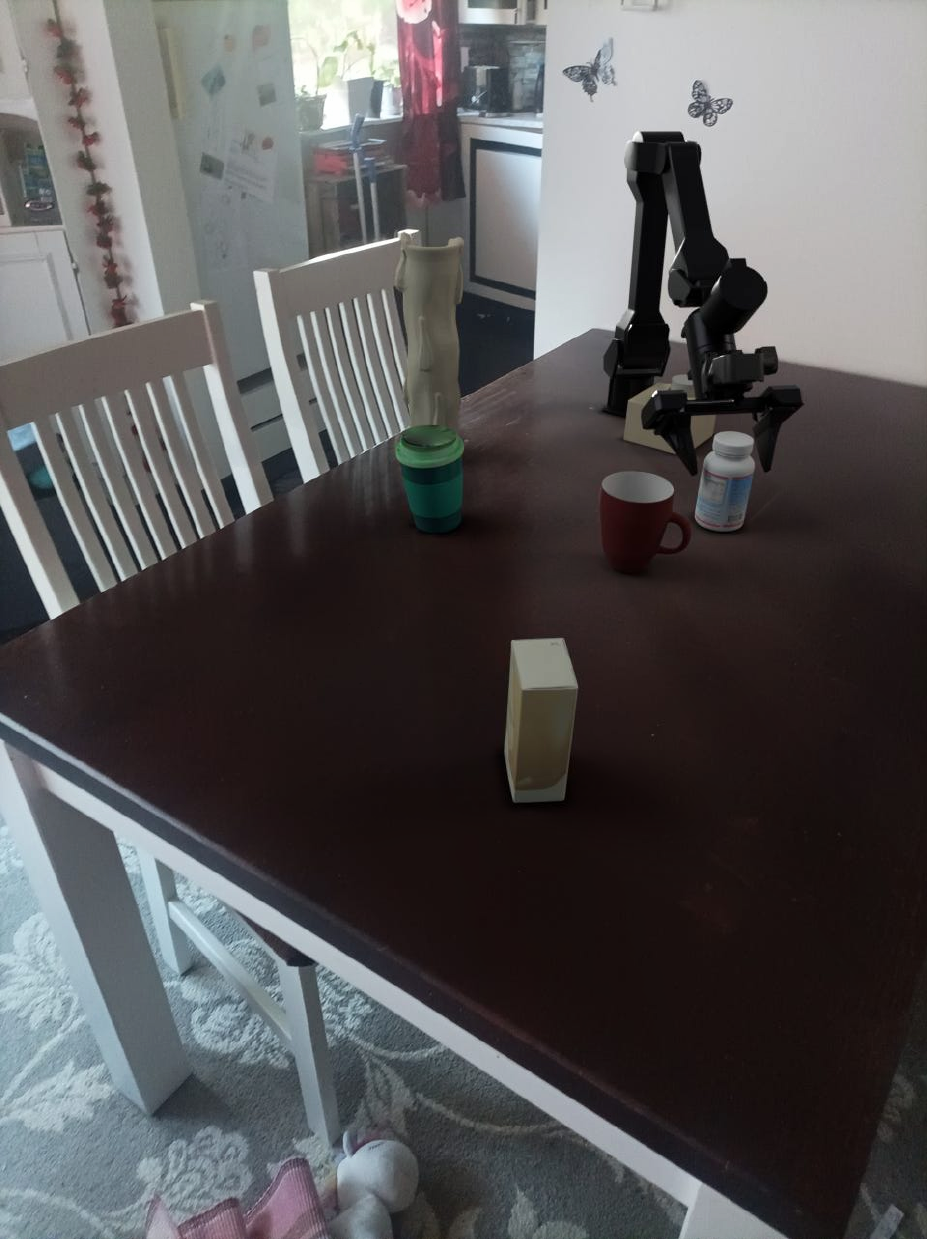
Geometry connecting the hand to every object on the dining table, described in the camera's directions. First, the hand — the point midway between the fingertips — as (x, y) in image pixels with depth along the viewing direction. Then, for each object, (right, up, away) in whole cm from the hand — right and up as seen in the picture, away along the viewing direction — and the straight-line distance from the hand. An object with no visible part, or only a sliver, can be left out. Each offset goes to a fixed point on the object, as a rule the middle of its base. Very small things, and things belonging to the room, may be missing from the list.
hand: (731, 473), depth 105 cm
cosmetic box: (-27, -31, -32) cm, 52 cm away
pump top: (0, +15, +21) cm, 26 cm away
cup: (-36, -6, +3) cm, 37 cm away
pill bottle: (0, -5, +5) cm, 7 cm away
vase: (-37, +6, +21) cm, 43 cm away
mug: (-12, -12, -4) cm, 17 cm away
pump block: (-1, +10, +27) cm, 29 cm away
